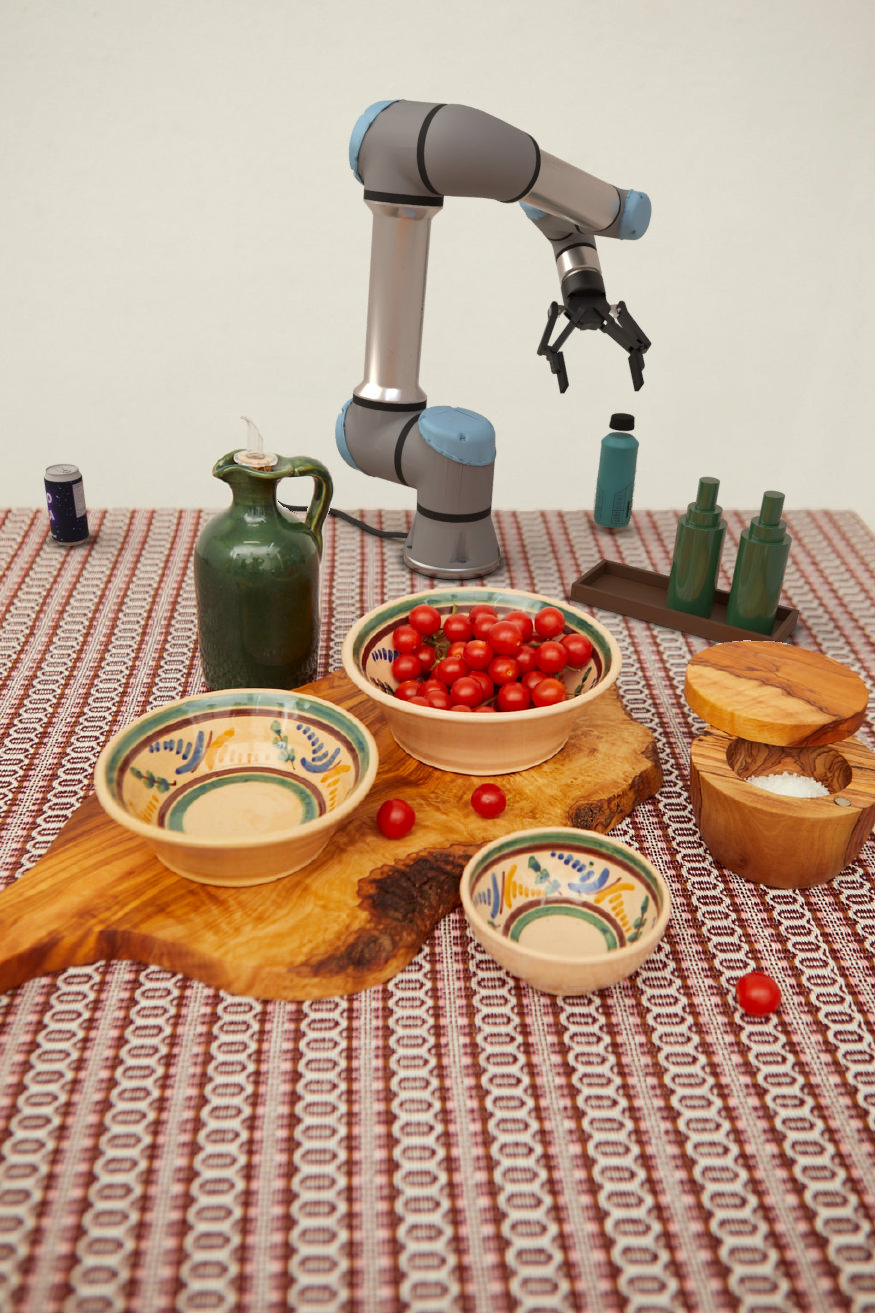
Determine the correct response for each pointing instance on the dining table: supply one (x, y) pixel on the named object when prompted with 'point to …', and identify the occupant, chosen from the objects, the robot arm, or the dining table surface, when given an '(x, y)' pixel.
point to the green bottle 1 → (698, 553)
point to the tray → (647, 598)
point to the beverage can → (66, 504)
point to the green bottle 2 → (760, 569)
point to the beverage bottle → (616, 473)
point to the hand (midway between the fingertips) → (602, 388)
